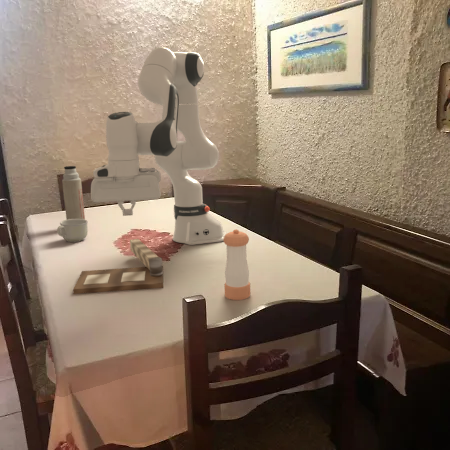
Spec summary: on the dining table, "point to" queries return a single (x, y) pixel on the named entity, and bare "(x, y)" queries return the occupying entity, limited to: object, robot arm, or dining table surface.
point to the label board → (117, 280)
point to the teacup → (73, 229)
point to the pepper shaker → (236, 266)
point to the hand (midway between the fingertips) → (127, 215)
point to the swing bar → (146, 256)
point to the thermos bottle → (73, 194)
